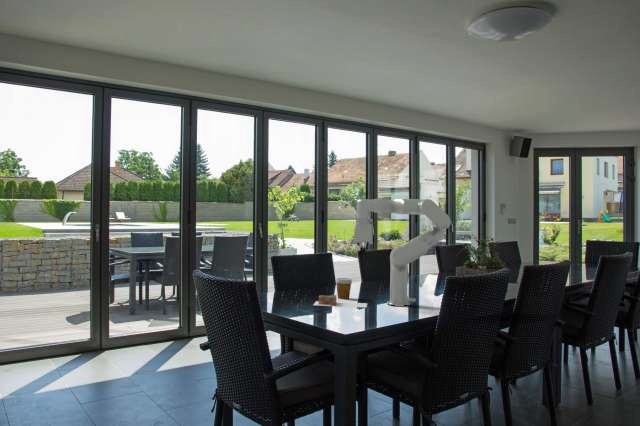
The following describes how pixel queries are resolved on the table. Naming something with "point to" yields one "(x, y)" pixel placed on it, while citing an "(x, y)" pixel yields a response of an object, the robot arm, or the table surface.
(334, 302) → the walnut T-block
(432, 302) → the table surface
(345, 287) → the disposable coffee cup
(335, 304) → the push board
